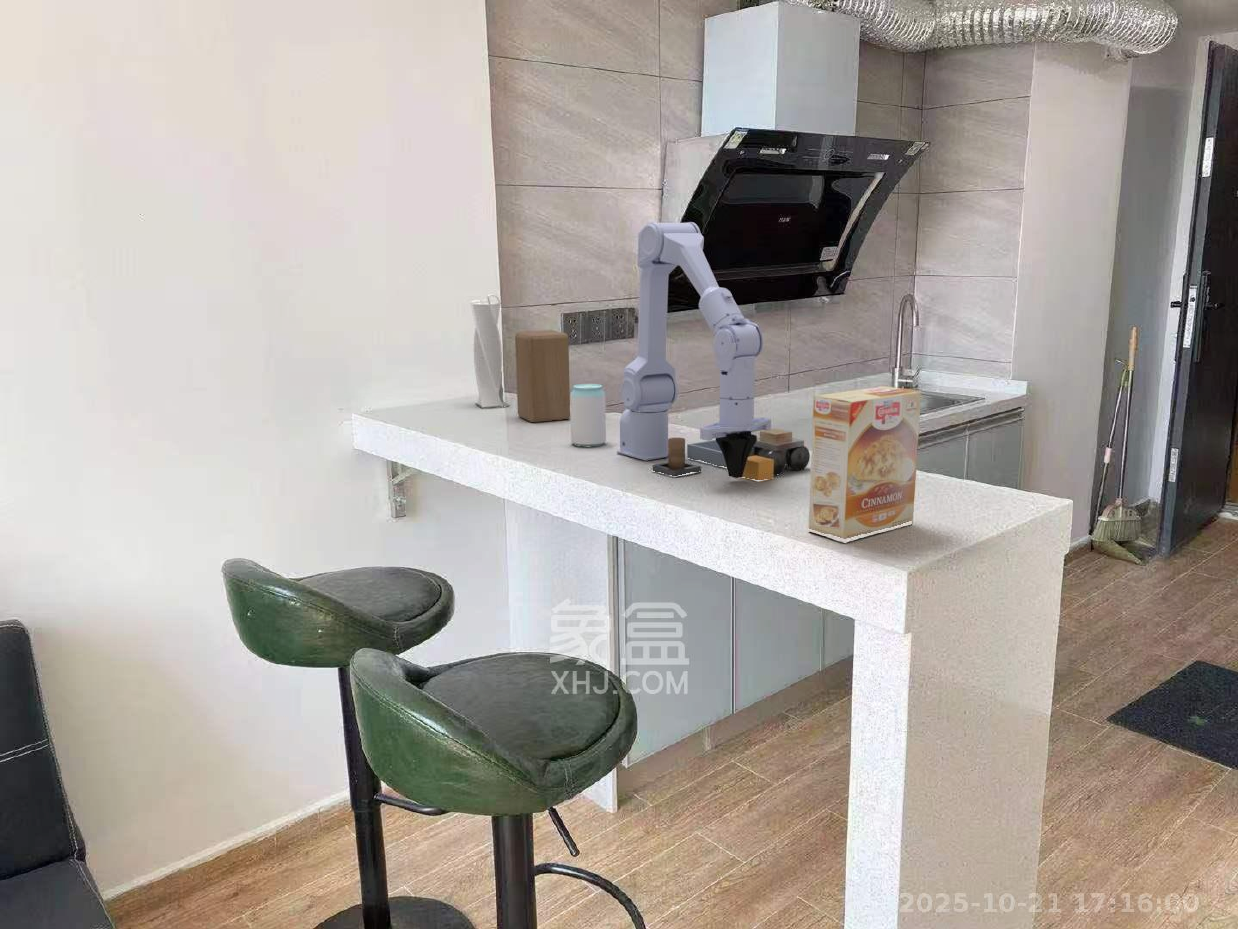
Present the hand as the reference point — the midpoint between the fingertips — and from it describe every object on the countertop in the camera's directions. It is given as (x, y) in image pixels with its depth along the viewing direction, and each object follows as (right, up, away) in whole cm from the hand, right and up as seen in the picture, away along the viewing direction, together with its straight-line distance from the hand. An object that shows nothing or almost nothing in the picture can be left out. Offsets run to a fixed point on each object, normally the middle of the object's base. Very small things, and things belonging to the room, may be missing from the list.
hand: (735, 476), depth 165 cm
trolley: (+8, +1, +9) cm, 12 cm away
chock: (+4, 0, +3) cm, 5 cm away
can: (-26, +6, +33) cm, 42 cm away
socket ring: (-10, +1, +8) cm, 12 cm away
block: (-37, +13, +62) cm, 74 cm away
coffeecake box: (+15, -7, -27) cm, 31 cm away
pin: (-10, +1, +8) cm, 12 cm away
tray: (+1, +3, +17) cm, 17 cm away
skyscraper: (-52, +16, +79) cm, 96 cm away
